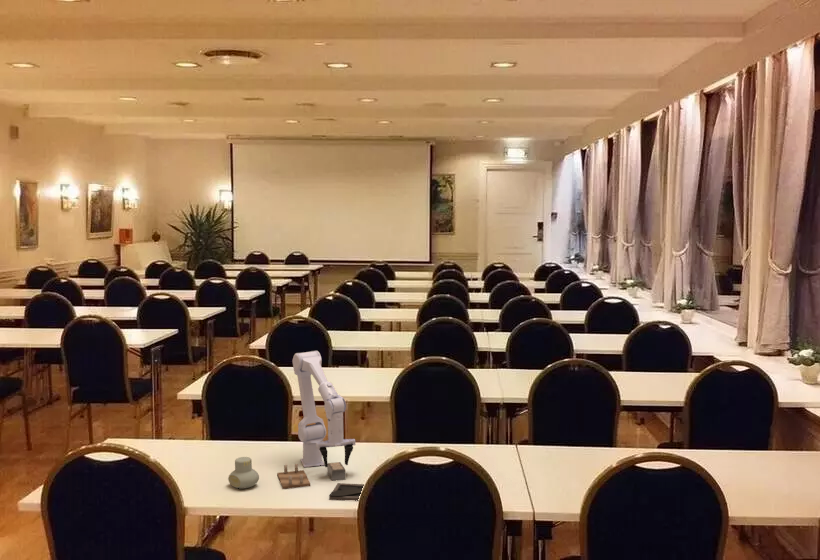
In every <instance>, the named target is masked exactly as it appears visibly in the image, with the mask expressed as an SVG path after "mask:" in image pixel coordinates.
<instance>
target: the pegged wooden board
mask: <svg viewBox="0 0 820 560" xmlns="http://www.w3.org/2000/svg"><path fill="white" fill-rule="evenodd" d="M277 478H278V481H279V483H280V485H281V488H282V490H287V489H288V490H289V489H297V488H306V487H311V482H310V479H309V478H308V476H307V474H306V471H305V470H304V469H302V470H299V463H294V470H292V471H288V464H284V465H283V471H282V472H281V471H280V472H277Z"/></svg>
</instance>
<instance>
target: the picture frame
mask: <svg viewBox="0 0 820 560" xmlns="http://www.w3.org/2000/svg"><path fill="white" fill-rule="evenodd" d="M363 486H364V484H363V483H341V482H340V483H339V482H338V483H337V484H336V485H335V487H334V488H333V490H332V491H331V492H330V494H329V495H328V500H329V501H330V500H331V501H345V500H355V501H354V502H359V501H358V499H359V496H360V494H361V491H362V488H363ZM356 500H357V501H356Z"/></svg>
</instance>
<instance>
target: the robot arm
mask: <svg viewBox="0 0 820 560" xmlns="http://www.w3.org/2000/svg"><path fill="white" fill-rule="evenodd" d="M322 361H323V360H322V356H321V353H320V352H319V351H318V350H311V351H306V352H304V351H303V352H296V353H294V355H293V358H292V361H291V362H292V366H293V372H294V375H296V376H297V382H298V387H299V395H300V396H299V397H300V400H301V408H302V414H303V418H302V419H301V420H300V421H299V422H298V425H297V426H298V427H297V428H298V431H297V435H298V436H297V437H298V439H299V441H300V442H302V458H300V461H301V463H302V465H303V467H304V468H311V467H319V466H320V465H321V466H324V467H325V468H327V467H328V463H329V462H328V448H337V447H344V465H345V466H348V465H349V460H350V458H351V457H350V456H351V454H352V452H353V450H354V446H356V439H355V438H344V413H345V411H346V409H347V404H346V400H345V398H344V397H343V396H341V395H340V394H338V393H337V390H336V388H335V387H334V384H333V383H332V382H331V381H328V379H327V377H326V375H325V372H324V370H323V367H322ZM311 377H313V379H314V380H315V381H316V383H317V385H318V388H317V390H318V392H319V394H320V396H321V398H322V400H323V402H324V406H323V408H324V412H325V417H326V419H327V428H326V426H325V422H324V418H321V417H319V415H318V414H317V409H316V402H315V396H314V389H313V384H312V378H311ZM326 435H327V440H324V439H325V438H326Z"/></svg>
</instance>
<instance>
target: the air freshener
mask: <svg viewBox="0 0 820 560" xmlns="http://www.w3.org/2000/svg"><path fill="white" fill-rule="evenodd" d="M252 465H253V464H252V458H251V457H250V456H249V457H248V456H240V457H238V458H235V460H234V470H232V471H231V472H230V474H229V475H228V478H227V480H228V483H229V484H230V485H231V486H232V487H234V488H235V489H238V488H239V489H238V490H240V489H241V490H242V489H249V488H251V487H253V486H255V485H256V484H257V483H258V482H259V479H260V475H259V473H258V472H257V471H256V470H255V469H253V466H252Z"/></svg>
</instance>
